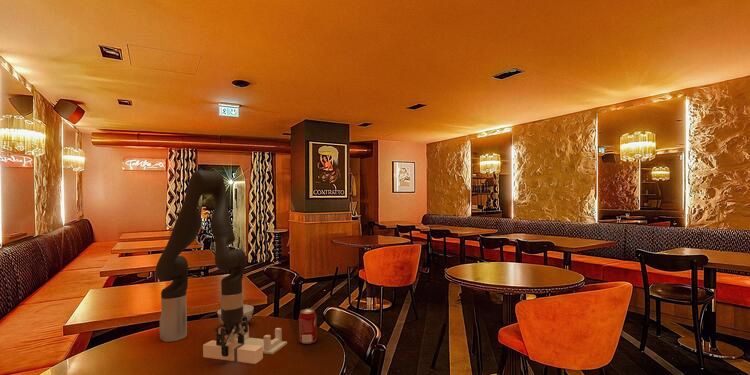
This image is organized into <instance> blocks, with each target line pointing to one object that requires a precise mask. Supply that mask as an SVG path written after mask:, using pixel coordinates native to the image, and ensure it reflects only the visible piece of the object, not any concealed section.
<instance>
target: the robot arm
mask: <svg viewBox="0 0 750 375" xmlns="http://www.w3.org/2000/svg"><path fill="white" fill-rule="evenodd" d="M203 195H206V196H207V195H211V196H212V197H213V201H214V210H213V212H212V214H211V215H212V216H211V218H210V230H211V233H212V236H213V240H214V252H215V253H214V264H215V266H216V268H217V269H218V270H219V271H221V272H226V271H227V272H228V271H230V273H229V274H228V275H226V276H224V277H223V278H221V282H220V285H221V286H220V287H221V290H220V291H221V294H220V295H221V297H220V309H221V320H222V321H223V322H224V324H223V325H222V326H221V327H217V328H216V337H215V339H216V340H215V341H216V345H217V346H221V354H222V356H224V357H227V356H228V355H229V352H228V343H229V342H230V339H231V338H232V336H233V335H234V334H236V333H237V337H238V343H240V344H242V343H243V344H244V336H245V333H246V332H248V325H249V323H248V322H249V321H248V320H247V317H246V316H244V313H243V305H244V294H243V278H244V274H245V270H246V266H247V255H246V252H245V251H244V250H243V249H242V248H234V249H228V248H227V246H229V245H230V246H231V245H232V244H233V243H234V242H235V241H236V236H235V233H234V229H233V226H232V222H231V218H230V214H229V209H228V198H227V189H226V183H225V179H224V176H223V175H222V174H221V172H219V171H216V170H207V169H206V170H204V169H203V170H202V169H201V170H199V169H198V170H195V171H193V173H191V176H190V178H189V182H188V185H187V188H186V191H185V195H184V199H183V202H182V204H181V208H180V211H179V214H178V216H177V218H176V220H175V223H174V226H173V227H172V231H171V234H170V237H169V239H168V241H167V242H166V243H167V244H166V245H165V248H164V250H162V253H161V255H160V256H159V259H158V260H157V263H156V266H155V276H156V278H157V279H158V281H161V282H169V281H171V283H170V284H168V285H167V286H166V287H165V288H163V289H162V290H161V292H160V305H161V307H160V308H161V314H160V315H159V340H161V341H162V342H165V343H169V342H177V341H180V340H184V339H185V338H186V337H188V324H187V323H188V319H187V318H188V315H187V307H188V306H187V302H188V301H187V289H188V285H189V281H188V280H189V262H188V260H187V258H186V256H183V255H180V254H181V253H182V252H184V251H185V250H186V249H187V247H189V246H190V245H191V244H192V243H193V242H194V241H195V240H196V239H197V237H198V235H199V232H200V231H201V228H202V224H203V219H202V215H201V212H200V210H199V202H200V198H201V197H202V196H203ZM244 326H245V329H244ZM220 341H221V342H220Z"/></svg>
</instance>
